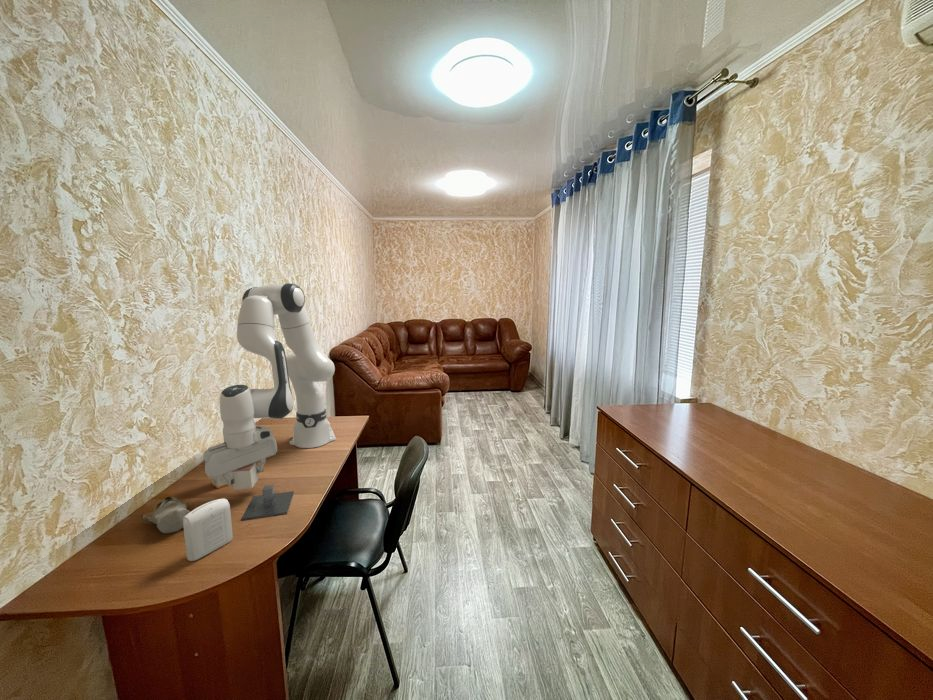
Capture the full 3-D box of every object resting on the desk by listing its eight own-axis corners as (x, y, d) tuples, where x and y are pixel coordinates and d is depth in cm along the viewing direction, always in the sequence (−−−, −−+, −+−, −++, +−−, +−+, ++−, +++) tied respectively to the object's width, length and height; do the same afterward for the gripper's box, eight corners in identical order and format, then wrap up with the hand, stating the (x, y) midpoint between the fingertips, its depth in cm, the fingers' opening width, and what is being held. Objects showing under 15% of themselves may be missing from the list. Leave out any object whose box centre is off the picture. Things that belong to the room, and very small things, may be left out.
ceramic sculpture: (149, 514, 93) (136, 496, 103) (153, 545, 94) (140, 525, 104) (198, 496, 102) (182, 482, 111) (202, 525, 103) (185, 508, 112)
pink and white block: (240, 480, 119) (238, 462, 118) (258, 479, 120) (255, 460, 119) (234, 489, 114) (231, 470, 113) (252, 487, 115) (249, 468, 114)
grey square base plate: (253, 497, 117) (251, 480, 116) (294, 492, 120) (292, 475, 119) (241, 520, 105) (239, 501, 104) (287, 513, 109) (285, 495, 108)
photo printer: (227, 534, 99) (222, 492, 97) (236, 539, 97) (232, 496, 95) (183, 558, 90) (177, 512, 88) (192, 564, 88) (187, 517, 86)
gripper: (207, 452, 104) (213, 496, 106) (277, 428, 120) (281, 467, 123) (197, 447, 107) (204, 489, 110) (267, 424, 124) (271, 462, 126)
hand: (245, 477), depth 116 cm, fingers closed on pink and white block, 7 cm apart
